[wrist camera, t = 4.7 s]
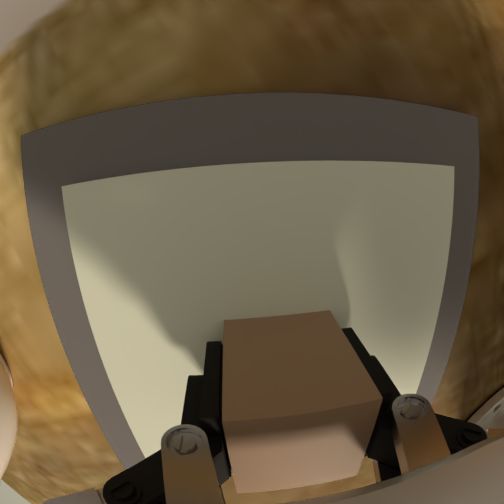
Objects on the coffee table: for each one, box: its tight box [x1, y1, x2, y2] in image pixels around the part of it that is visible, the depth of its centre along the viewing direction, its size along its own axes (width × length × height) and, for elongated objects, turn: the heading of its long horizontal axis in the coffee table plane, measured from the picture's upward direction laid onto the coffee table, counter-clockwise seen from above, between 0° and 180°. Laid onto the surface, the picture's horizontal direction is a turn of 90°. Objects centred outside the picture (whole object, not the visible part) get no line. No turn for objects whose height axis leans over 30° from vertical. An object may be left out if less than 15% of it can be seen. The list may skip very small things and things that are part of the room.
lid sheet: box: [62, 160, 454, 493], centre depth 10 cm, size 15×15×6 cm
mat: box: [21, 93, 479, 473], centre depth 13 cm, size 20×20×1 cm
